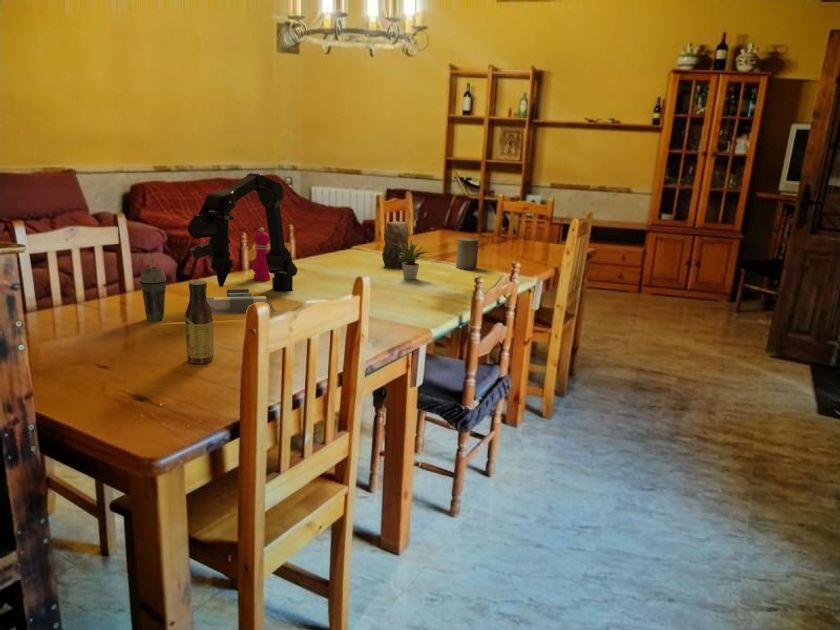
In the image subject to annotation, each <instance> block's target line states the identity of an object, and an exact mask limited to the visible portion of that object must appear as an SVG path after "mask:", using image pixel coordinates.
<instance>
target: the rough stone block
mask: <svg viewBox="0 0 840 630" xmlns="http://www.w3.org/2000/svg"><path fill="white" fill-rule="evenodd" d="M408 235H409V230H408V222H407V221H399V220H394V221H391V222H390V221H387V222H386V227H385V230H384V235H383V240H384V247H383V248H382V254H381V257H382V261H383V267H384V268H386V267H387V268H388V269H391V268H392V269H401V270H403V266H402V263H404V262H406V260H405V259H403V258H404V255H402V254H400V253H401V252H403V253H404V251H403V250H402V249H403V248H402V247H400V245H401V246H403V247H404V249H405V251H406V248H405V245H407V247H408V249H410V247H409V246H410V245H409V236H408ZM404 243H405V245H404ZM395 244H397V245H395ZM401 248H402V249H401ZM406 253H407V251H406ZM404 254H405V253H404ZM399 256H403V257H399ZM400 258H401V259H400Z"/></svg>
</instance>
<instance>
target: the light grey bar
mask: <svg viewBox="0 0 840 630" xmlns="http://www.w3.org/2000/svg"><path fill="white" fill-rule="evenodd" d="M250 297H253V303H256V302H265V303H267V298H266V295H262V296H260V295H255V296H254V295H253V296H252V295H251V296H250ZM213 298H214V309H230V298H249V297H227V296H223V297H222V296H218V297H215V296H214V297H213Z"/></svg>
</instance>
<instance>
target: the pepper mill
mask: <svg viewBox="0 0 840 630" xmlns="http://www.w3.org/2000/svg"><path fill="white" fill-rule="evenodd" d="M253 241H254V243H255V244H254V248H255V250H256V251H255V252H256V254H255V258H254V260H253V262H252V266H251V267H252V268H251V270H252V271H253V272H254V274H253V280H255V281H260V282H262V281H264V282H266V281H270V280H271V273H270V272H269V268H268V265H266V254H267V253H268V249H270V248H269V246H270V245H269V243H270V240H269V233H268V232H266V231H265V228H264V227H260V228H259V231H257V232H256V233H255V234H254V235H253Z"/></svg>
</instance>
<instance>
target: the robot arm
mask: <svg viewBox="0 0 840 630" xmlns="http://www.w3.org/2000/svg"><path fill="white" fill-rule="evenodd" d="M253 191H254V192H255V193H257V196H258V197H257V198H258V200H259V202H260V204H261V205H262V206H263V207H264V212H265V217H266V225H267V233H268V234H269V240H270V241H269V244H270V245H269V246H270V248H269V250H268V251H267V254H266V265H268V268H269V274H270V275H271V274H272V275H273V277H271V279H272V280H271V286H272V287H271V289H272V290H273V291H275V293H276V292H279V293H280V292H285V293H286V292H294V290H293V286H294V285H293V281H294V279H293V277H295V276H296V275H298V267H297V266H296V264H295V263H294V262H293V260H292V255H291V252H290V251H289V250H288V249H287V247H286V244H285V243H286V242H285V236H284V229H283V222H282V221H283V220H282V213H281V205H282V203H283V200H284V186H283V184H281V183H280V182H279V181H275V180H274V179H270V178H268V177H266V176H264V175H263V174H261V173H255V172H254V173H253V172H250V173H248V174H246V176H244V177H243V178H242V179H240V180H239V181H237V182H235V183H234V184H232V185H231V186H229V187H226V189H222V190H215V191H213V192H209V193H208V194H207V195H206V196H205V200H204V202H203V204H202V207H201V208H200V210H199V212H198V214H194V215H192V219H191V220H190V221H189V222H188V225H187V232H188V233H189V236H190V237H191V238H192V239H195V240H198V239H204V238H205V239H206V238H208V242H205V243H202V244H199V245H195V246H193V247H191V248H190V249H189V250H190V253H191V255H192V257H193V260H194V261H197V260H200V259H201V258H204V257H207V256H208V257H207V258H208V259H209V263H210V267H211V269H213V270H214V271H215V275H216V279H217V283H218V287H219V288H221V287H222V288H223V287H224V284H225V283H226V280H227V278H228V276H229V274H230V271H231V270H232V268H234V262H233V259H232V258H231V252H230V243H231V239H230V221H233V220H234V219H235V218H234V217H233V215H232V214H230V213H231V212H232V211H233V210H234V209H235V208H236V206H237V202H239V201H240V200H242V199H243V198H244V197H246V196H247V195H249V194H251V193H252V192H253Z"/></svg>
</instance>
